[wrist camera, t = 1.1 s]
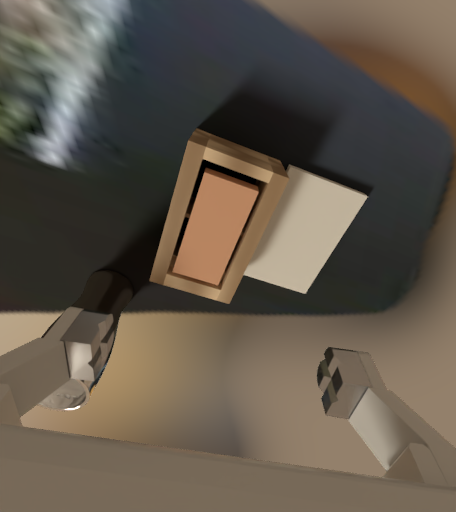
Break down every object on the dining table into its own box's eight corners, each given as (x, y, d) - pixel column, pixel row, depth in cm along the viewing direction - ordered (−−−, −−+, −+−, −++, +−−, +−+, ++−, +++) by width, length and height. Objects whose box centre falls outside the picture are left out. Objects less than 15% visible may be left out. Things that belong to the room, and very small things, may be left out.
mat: (239, 269, 38) (240, 273, 37) (289, 164, 31) (290, 166, 30) (303, 288, 39) (305, 293, 38) (364, 193, 32) (367, 196, 31)
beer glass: (77, 294, 40) (5, 397, 28) (93, 257, 37) (20, 355, 24) (126, 315, 42) (79, 420, 29) (145, 281, 39) (102, 383, 26)
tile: (176, 257, 33) (172, 271, 31) (206, 163, 28) (204, 172, 25) (219, 270, 34) (218, 285, 32) (256, 182, 28) (258, 191, 26)
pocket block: (161, 251, 36) (149, 280, 31) (196, 128, 29) (188, 140, 24) (229, 272, 38) (229, 304, 33) (280, 160, 30) (289, 178, 25)
